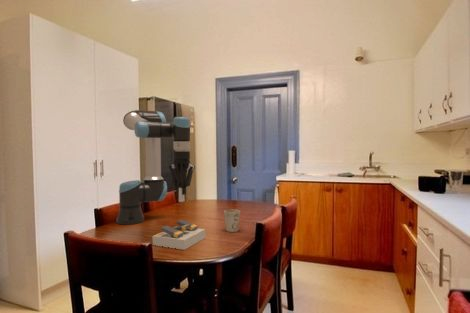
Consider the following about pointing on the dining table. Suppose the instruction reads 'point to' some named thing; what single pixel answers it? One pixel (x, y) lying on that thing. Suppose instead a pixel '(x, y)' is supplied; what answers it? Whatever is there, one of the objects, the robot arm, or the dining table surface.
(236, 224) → the mug
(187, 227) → the rocker
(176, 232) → the rocker
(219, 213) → the dining table surface
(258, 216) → the dining table surface
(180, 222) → the rocker
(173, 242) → the switch unit
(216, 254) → the dining table surface
